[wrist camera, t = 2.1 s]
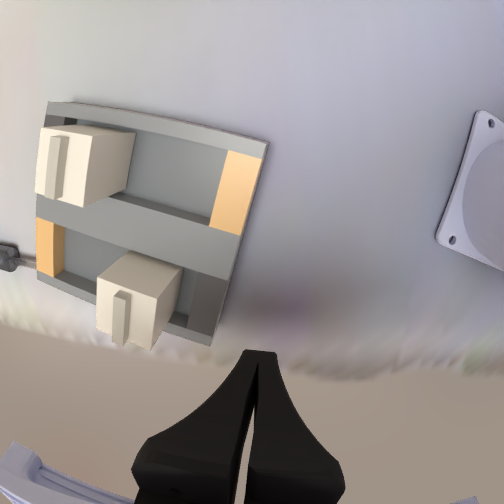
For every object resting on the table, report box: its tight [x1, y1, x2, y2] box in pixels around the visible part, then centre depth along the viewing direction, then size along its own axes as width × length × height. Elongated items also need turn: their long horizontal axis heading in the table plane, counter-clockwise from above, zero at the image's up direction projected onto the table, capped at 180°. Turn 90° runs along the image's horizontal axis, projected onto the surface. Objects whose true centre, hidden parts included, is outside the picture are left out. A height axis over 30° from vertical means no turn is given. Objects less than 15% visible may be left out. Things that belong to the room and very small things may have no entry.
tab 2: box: [96, 250, 184, 350], centre depth 15 cm, size 3×3×5 cm
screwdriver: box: [0, 245, 68, 272], centre depth 19 cm, size 10×2×2 cm, turn 85°
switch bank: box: [36, 102, 269, 346], centre depth 16 cm, size 12×11×2 cm
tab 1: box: [35, 124, 136, 207], centre depth 13 cm, size 3×3×5 cm
